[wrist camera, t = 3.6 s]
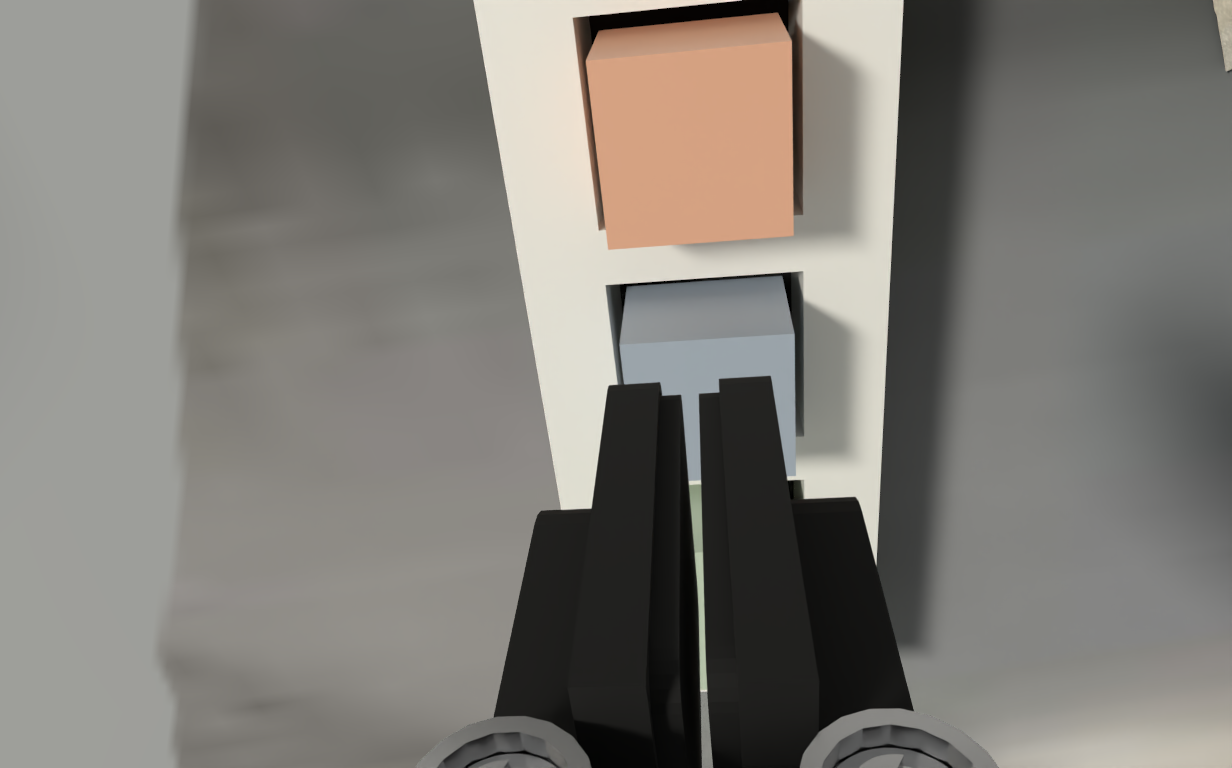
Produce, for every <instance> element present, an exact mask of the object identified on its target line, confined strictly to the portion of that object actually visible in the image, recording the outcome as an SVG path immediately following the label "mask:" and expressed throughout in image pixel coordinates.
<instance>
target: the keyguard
mask: <svg viewBox="0 0 1232 768" xmlns="http://www.w3.org/2000/svg"><path fill="white" fill-rule="evenodd" d="M730 1H740V0H474V5H475V11H476V17H477V23H478V29H479V34H480V40H481V46H482V52H483V58H484V63H485V69H486V75H487V81H488V87H489V92H490V98H491V104H492V110H493V116H494V122H495V127H496V133H497V139H498V145H499V151H500V156H501V162H502V168H503V174H504V180H505V185H506V191H507V197H508V203H509V209H510V214H511V220H512V226H513V232H514V238H515V243H516V249H517V255H518V261H519V267H520V272H521V278H522V284H523V290H524V296H525V301H526V307H527V313H528V319H529V325H530V330H531V336H532V342H533V348H534V354H535V359H536V365H537V371H538V377H539V383H540V388H541V394H542V400H543V406H544V412H545V417H546V423H547V429H548V435H549V441H550V446H551V452H552V458H553V464H554V470H555V475H556V481H557V487H558V493H559V499H560V504H561V510H569V509H591V508H592V501H593V493H594V486H595V478H596V471H597V463H598V456H599V449H600V441H601V434H602V426H603V419H604V411H605V404H606V397H607V390H608V386H609V385H621V384H624V379H623V371H622V362H621V354H620V346H619V344H620V336H621V329H622V321H623V311H622V302H621V293H620V284H628V283H642V282H657V281H671V280H685V279H699V278H714V277H728V276H742V275H756V274H771V273H785V272H791V302H792V324H793V329H794V333H795V432H796V476H787V480H793V482H794V499H815V498H837V497H856V498H857V499H858V501H859V503H860V506H861V509H862V513H863V517H864V521H865V524H866V528H867V532H868V536H869V540H870V544H871V548H872V551H873V555H874V559H875V563H877V542H878V521H879V500H880V479H881V459H882V438H883V417H884V396H885V375H886V355H887V334H888V313H889V292H890V271H891V250H892V230H893V209H894V188H895V167H896V146H897V126H898V105H899V84H900V63H901V42H902V21H903V1H904V0H788V32H789V36H790V38H791V40H792V114H793V220H794V236H788V237H774V238H761V239H747V240H734V241H721V242H707V243H694V244H680V245H667V246H653V247H640V248H627V249H613V250H608V244H607V236H606V227H605V219H604V211H603V202H602V194H601V185H600V177H599V168H598V160H597V152H596V143H595V135H594V126H593V118H592V109H591V101H590V92H589V84H588V76H587V67H586V59H587V57H588V54H589V52H590V50H591V47H592V39H591V30H590V22H589V16H594V15H604V14H613V13H623V12H633V11H643V10H652V9H662V8H672V7H682V6H691V5H701V4H711V3H721V2H730ZM696 484H701V480H697V481H689V485H696ZM700 692H707V676H706V659H700Z"/></svg>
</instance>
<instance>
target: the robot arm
mask: <svg viewBox="0 0 1232 768" xmlns="http://www.w3.org/2000/svg"><path fill="white" fill-rule="evenodd" d="M699 424H700V463H701V501H702V539H703V577H704V615H705V652H706V676H707V694H708V709H709V722H710V734H711V746H712V759H713V768H999V767H998V766H997V764H996V763H995V762H994V760H993V759H992V757H991V756H990V755H989V753H988V752H987V751H986V750H985V749H984V748H982V747H981V746H980V745H979V744H978V743H976V742H975V741H974V740H973V739H972V738H970V737H969V736H968V735H967V734H965V733H964V732H963V731H962V730H960V729H958V728H956V727H954V726H952V725H950V724H948V723H946V722H944V721H942V720H940V719H938V718H935V717H933V716H931V715H926V714H922V713H918V712H914V710H913V706H912V702H911V698H910V694H909V691H908V687H907V683H906V679H905V675H904V671H903V667H902V664H901V660H900V656H899V652H898V648H897V644H896V640H895V636H894V633H893V629H892V625H891V621H890V617H889V613H888V609H887V606H886V602H885V598H884V594H883V590H882V586H881V582H880V579H879V575H878V571H877V567H876V563H875V559H874V555H873V551H872V548H871V544H870V540H869V536H868V532H867V528H866V524H865V521H864V517H863V513H862V509H861V506H860V503H859V501H858V499H857V498H856V497H837V498H815V499H793V500H791V499H790V493H789V487H788V480H787V474H786V468H785V461H784V455H783V449H782V442H781V436H780V430H779V423H778V417H777V411H776V404H775V398H774V392H773V385H772V379H771V376H756V377H739V378H722V379H719V392H717V393H700V394H699ZM416 768H702V750H701V698H700V646H699V606H698V588H697V575H696V563H695V551H694V539H693V527H692V515H691V503H690V491H689V479H688V467H687V455H686V442H685V430H684V418H683V406H682V397H681V395H665V396H662V389H661V384H660V382H654V383H638V384H621V385H609V386H608V390H607V397H606V404H605V411H604V419H603V426H602V434H601V441H600V449H599V456H598V463H597V471H596V478H595V486H594V493H593V501H592V508H591V509H569V510H547V511H541V512H540V513H539V514H538V515H537V518H536V522H535V525H534V529H533V534H532V539H531V544H530V548H529V553H528V558H527V562H526V567H525V572H524V577H523V581H522V586H521V591H520V595H519V600H518V605H517V609H516V614H515V619H514V624H513V628H512V633H511V638H510V642H509V647H508V652H507V657H506V661H505V666H504V671H503V675H502V680H501V685H500V690H499V694H498V699H497V704H496V708H495V713H494V718H491V719H487V720H484V721H480V722H477V723H473V724H470V725H467V726H466V727H464V728H462V729H460V730H459V731H457V732H455V733H453V734H452V735H450V736H448V737H446V738H444V739H443V740H441V741H440V742H439V743H438V744H437V745H436V746H435V747H434V748H433V749H432V750H431V751H430V752H429V753H428V754H427V755H425V756H424V757H423V758H422V759H421V760H420V762H419V763H418V765H417V766H416Z"/></svg>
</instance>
